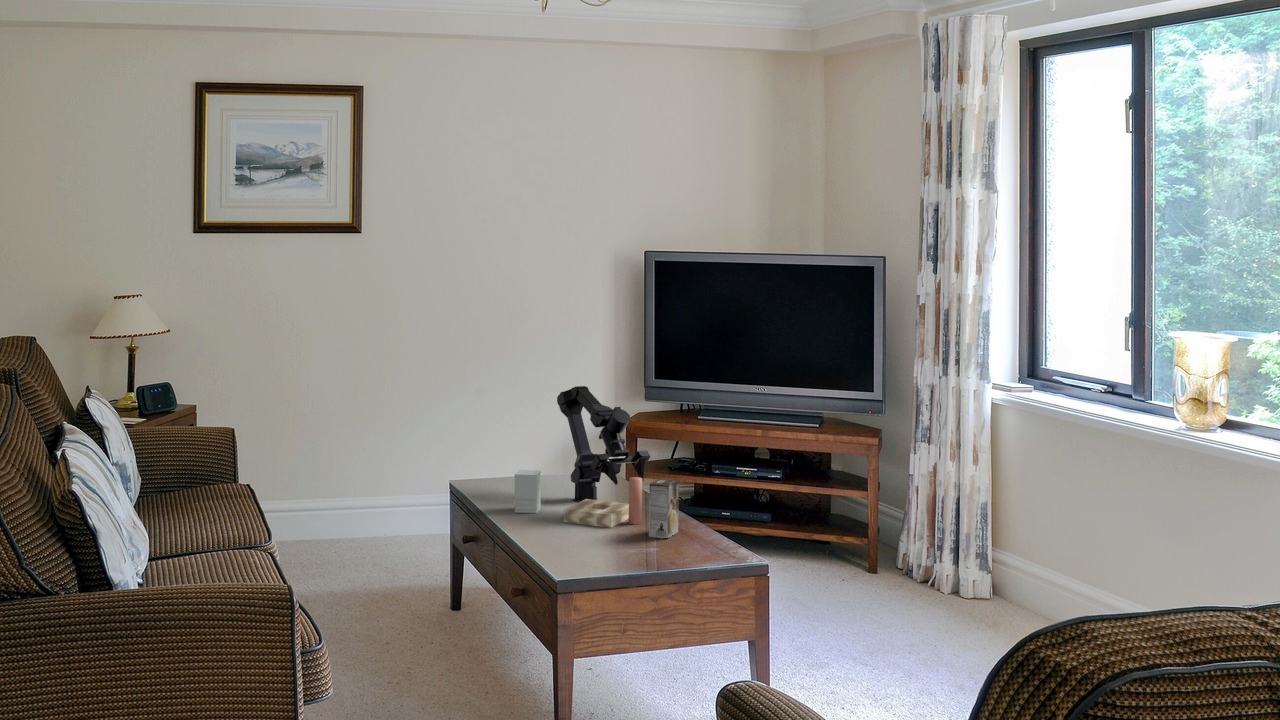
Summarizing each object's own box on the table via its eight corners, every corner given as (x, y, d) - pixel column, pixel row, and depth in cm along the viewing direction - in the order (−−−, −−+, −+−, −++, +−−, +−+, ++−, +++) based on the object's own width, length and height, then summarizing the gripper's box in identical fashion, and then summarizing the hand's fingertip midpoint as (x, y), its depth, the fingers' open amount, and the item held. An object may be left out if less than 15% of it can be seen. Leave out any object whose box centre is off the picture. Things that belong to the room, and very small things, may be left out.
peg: (626, 523, 337) (627, 479, 336) (631, 520, 341) (632, 476, 339) (638, 525, 335) (639, 480, 334) (643, 522, 339) (644, 477, 338)
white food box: (658, 529, 330) (660, 477, 329) (678, 532, 328) (680, 479, 326) (647, 537, 322) (649, 483, 320) (668, 539, 319) (669, 485, 318)
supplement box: (541, 508, 354) (541, 470, 353) (536, 513, 347) (537, 474, 346) (518, 507, 355) (519, 469, 354) (513, 512, 348) (514, 473, 347)
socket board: (563, 521, 337) (564, 509, 337) (586, 511, 352) (586, 498, 352) (611, 527, 331) (611, 515, 331) (631, 516, 346) (632, 504, 346)
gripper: (630, 454, 359) (646, 494, 350) (579, 459, 349) (594, 499, 341) (642, 434, 351) (659, 474, 343) (590, 438, 342) (606, 479, 333)
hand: (629, 482), depth 340 cm, fingers open, 9 cm apart
